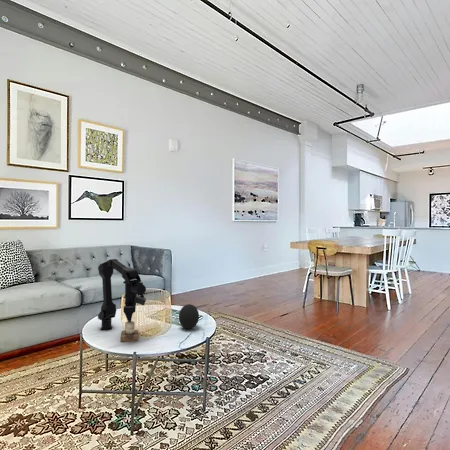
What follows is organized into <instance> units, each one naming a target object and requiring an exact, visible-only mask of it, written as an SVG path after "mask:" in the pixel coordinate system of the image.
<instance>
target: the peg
mask: <svg viewBox="0 0 450 450" xmlns="http://www.w3.org/2000/svg"><path fill="white" fill-rule="evenodd" d="M124 324H125V325H124V331H125V334H126V335H132V334H134V330H135V325H136V324H135V321H133V320H131V322H130V323H129V322H128V321H125V323H124Z"/></svg>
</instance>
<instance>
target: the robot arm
mask: <svg viewBox="0 0 450 450" xmlns="http://www.w3.org/2000/svg"><path fill="white" fill-rule="evenodd" d="M114 270H115V271H116V272H118V273H119V274H121V278H122V279H123V280H124V281H123V282H122V283H123V284H124V285H125V286H124V306H123V310H122V311H123V313H124V315H125V317H126V319H127V322H129V323H130V322H131V321H132V319H133V314H134V313H135V312H136V310H137V308H136V306H137V304H138V305H141V306H145V304H146V301H147V298H146V297H145V296H144V295H145V293H146V292H147V291H146V290H147V288H146V286H145V285H144V282H142V280H141V277H140V274H139V273H138V270H137V269H135V268H134V267H133V268H132V267H128V266H126V265H125V264H123V263H121V262H120V261H119V260H118V259H116V258H111V259H108V260H107V261H105V262H102V263H100V264H99V265H98V268H97V271H98V274H99V276H100V277H101V280H102V295H103V297H102V299H103V303H102V304H101V307H100V312H99V313H98V314H97V319H98V320H100V321H101V325H100V326H101V327H100V330H99V331H110V330H112V329H113V325H112V319H113V318H116V314H117V305H116V303H114V302H113V295H112V294H113V293H112V292H113V291H112V290H113V289H112V276H113V274H114Z"/></svg>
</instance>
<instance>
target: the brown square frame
mask: <svg viewBox="0 0 450 450" xmlns="http://www.w3.org/2000/svg"><path fill="white" fill-rule="evenodd" d="M139 333H140V332H139V329H134V334H132V335H126V334H125V330H121V333H120V340H119V341H120V343H130V342H139V336H138V335H139Z"/></svg>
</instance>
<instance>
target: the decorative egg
mask: <svg viewBox="0 0 450 450" xmlns="http://www.w3.org/2000/svg"><path fill="white" fill-rule="evenodd" d="M199 319H200V313H199V310H198V308H197V307H196V306H195V305H194V304H190V303H188V304H185V305H183V306H182V307H181V308H180V311H179V313H178V320H179V324H180V325H181V327H182V328H185V329H186V330H190V329H191V330H192V329H194V328H195V327H196V325H198V324H199V323H198V322H199Z"/></svg>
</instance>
